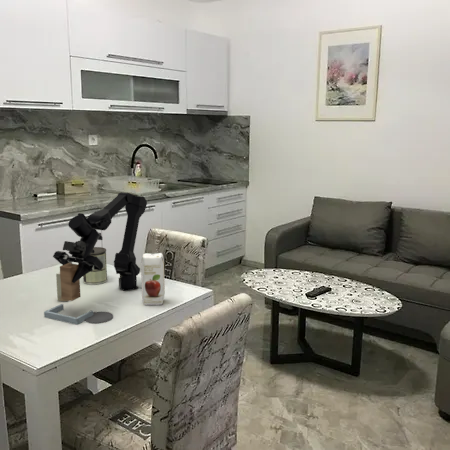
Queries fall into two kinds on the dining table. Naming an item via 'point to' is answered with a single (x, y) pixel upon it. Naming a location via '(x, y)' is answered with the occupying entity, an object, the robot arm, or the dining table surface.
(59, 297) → the box
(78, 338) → the dining table surface
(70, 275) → the walnut block
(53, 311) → the grey u-frame
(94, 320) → the coaster
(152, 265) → the juice carton
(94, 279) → the coffee can
